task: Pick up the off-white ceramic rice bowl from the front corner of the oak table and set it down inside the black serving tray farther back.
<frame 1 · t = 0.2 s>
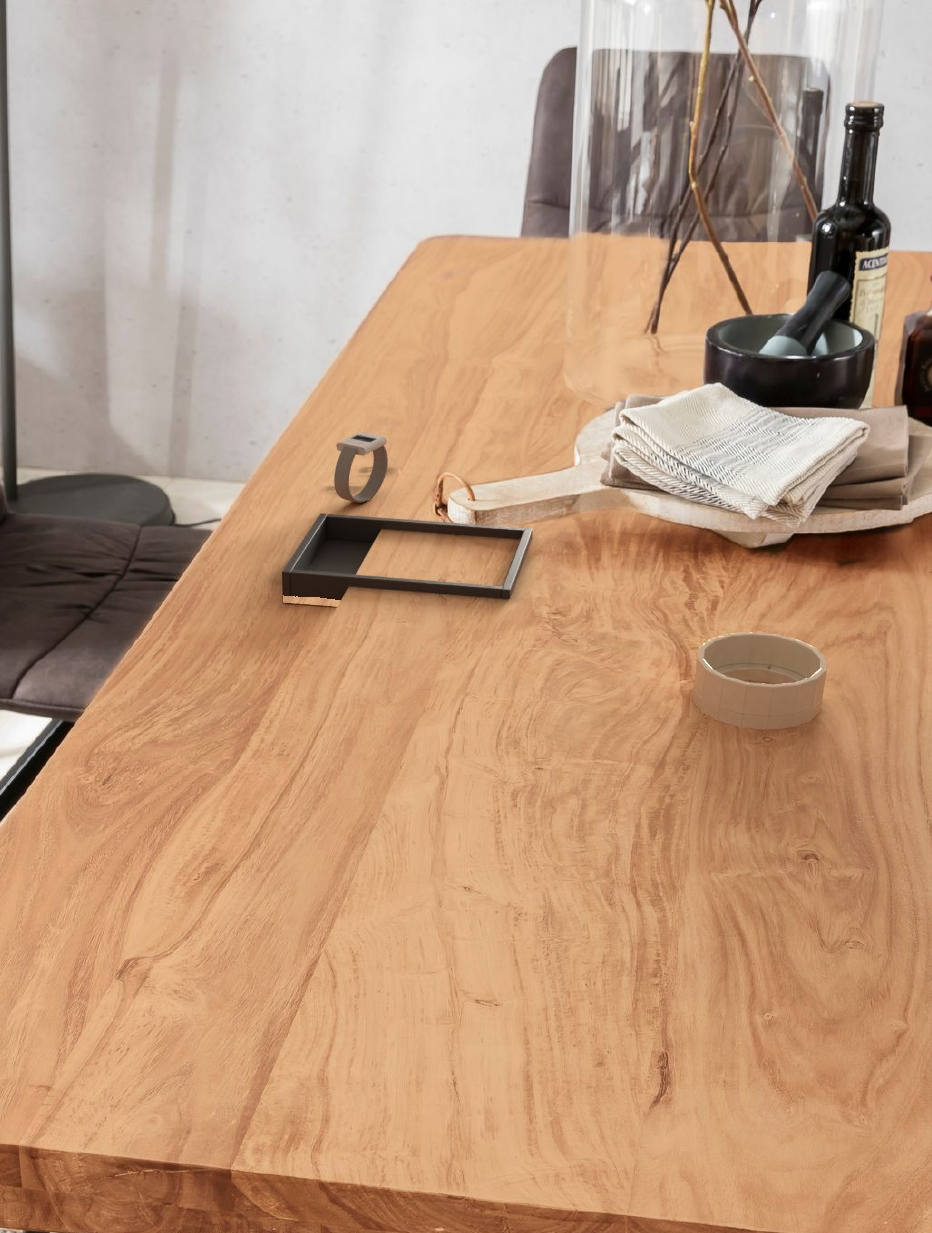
wristwatch: (361, 502, 140), on the table
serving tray: (410, 580, 126), on the table
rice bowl: (752, 725, 106), on the table
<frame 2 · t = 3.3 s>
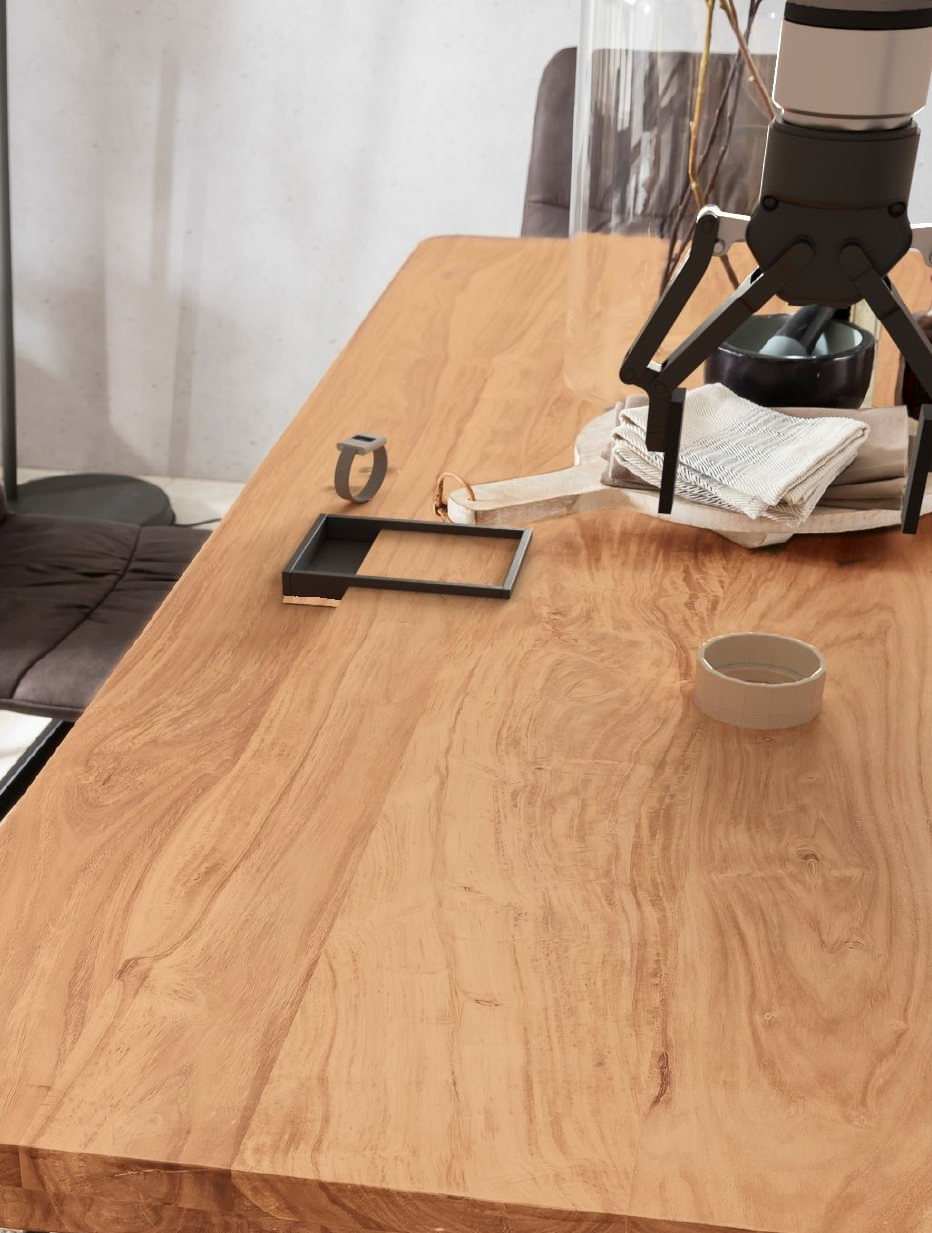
hand: (785, 516, 99), 13 cm above the table, tool pointing down, fingers open, 13 cm apart
nothing on the table moved.
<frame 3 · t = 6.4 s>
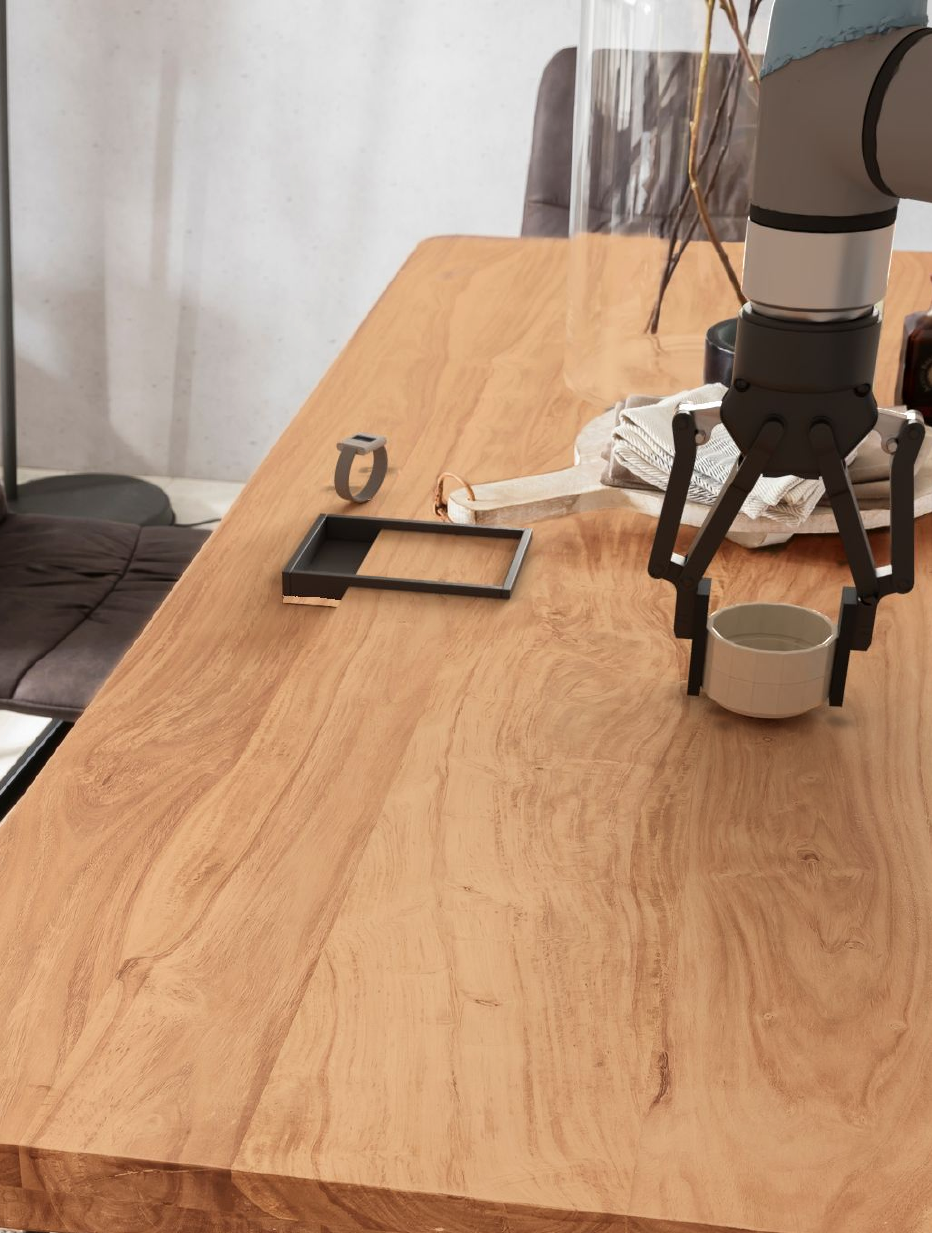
hand: (764, 691, 104), 3 cm above the table, tool pointing down, fingers closed on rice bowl, 8 cm apart
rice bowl: (763, 695, 105), point 2 cm above the table, touching gripper
everything else where it was.
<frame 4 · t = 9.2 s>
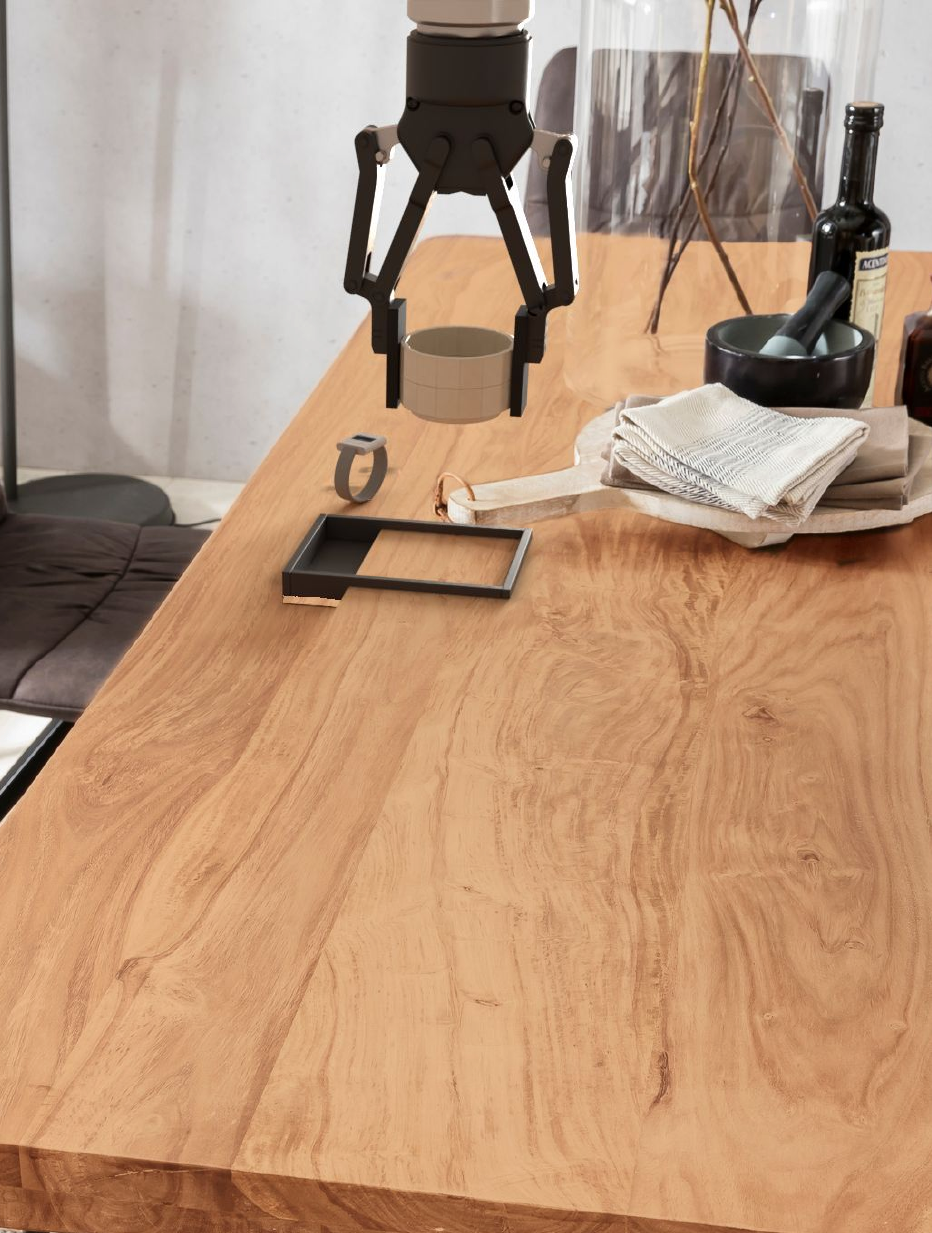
hand: (456, 406, 115), 14 cm above the table, tool pointing down, fingers closed on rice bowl, 8 cm apart
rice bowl: (456, 409, 116), point 14 cm above the table, touching gripper
everything else where it was.
when the fingers open (1 cm above the table, at t = 12.1 s): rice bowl stays where it is, resting on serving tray.
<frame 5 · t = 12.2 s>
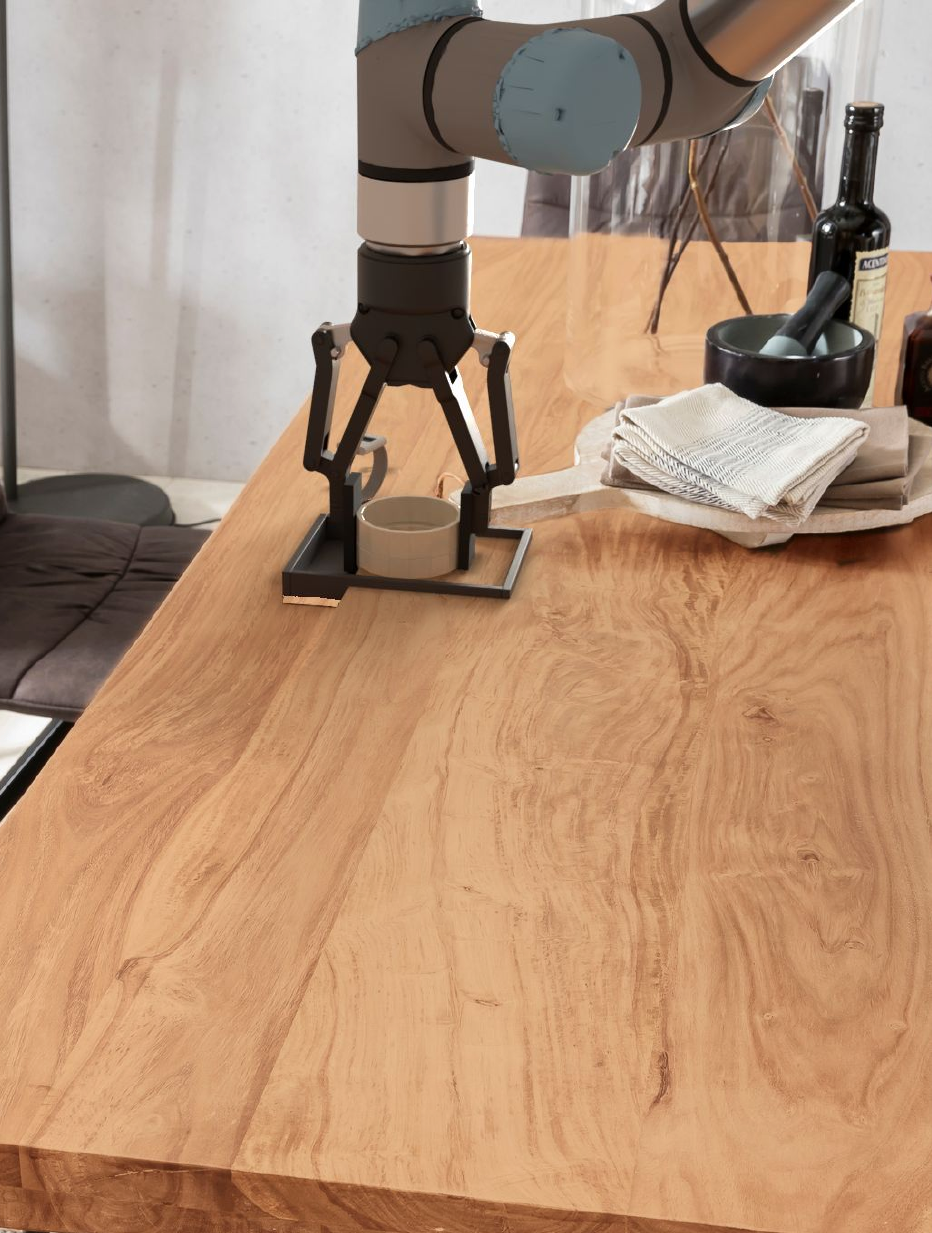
hand: (409, 569, 125), 1 cm above the table, tool pointing down, fingers open, 8 cm apart
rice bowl: (409, 572, 125), point 1 cm above the table, touching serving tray
everything else where it was.
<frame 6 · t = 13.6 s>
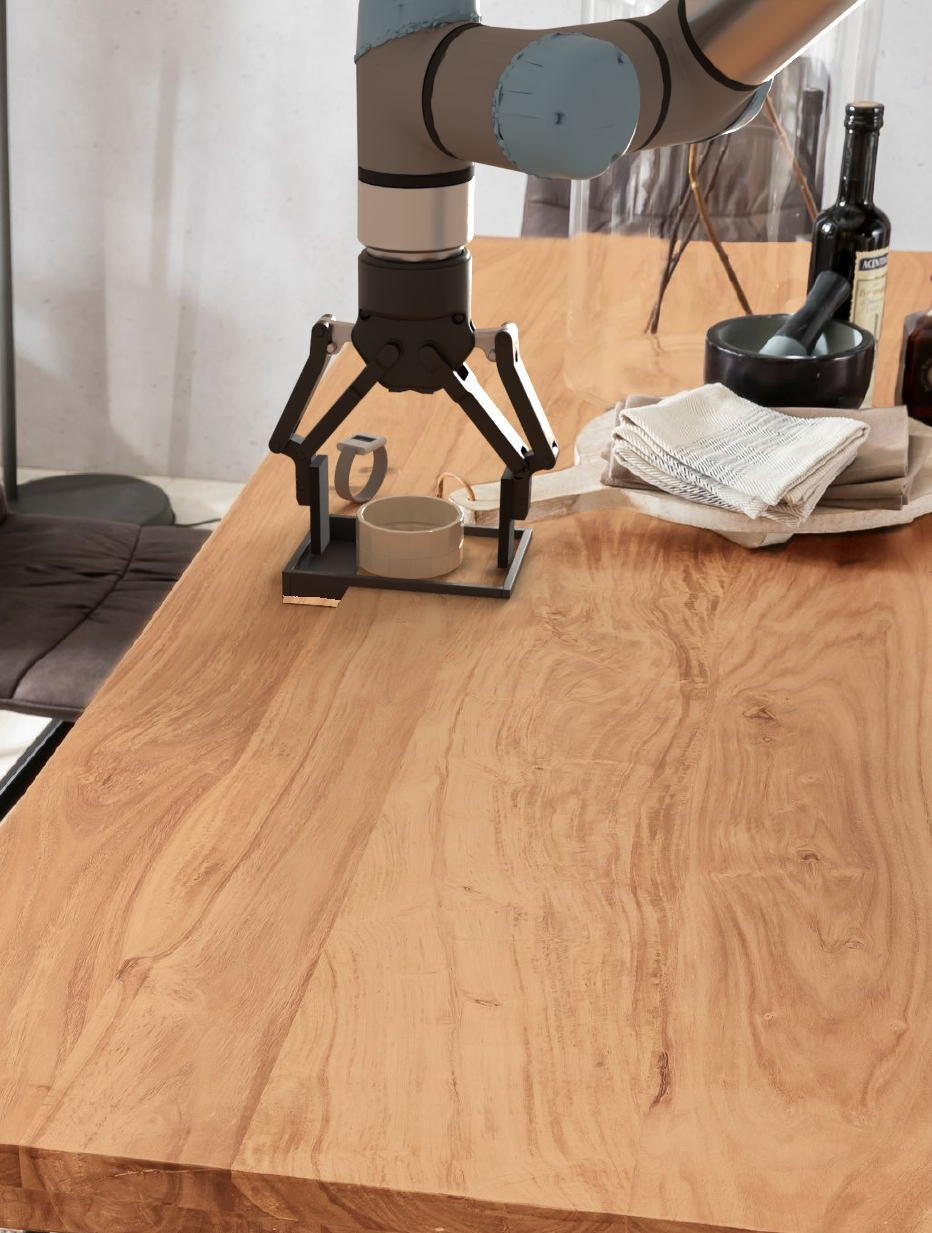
hand: (411, 555, 125), 2 cm above the table, tool pointing down, fingers open, 13 cm apart
nothing on the table moved.
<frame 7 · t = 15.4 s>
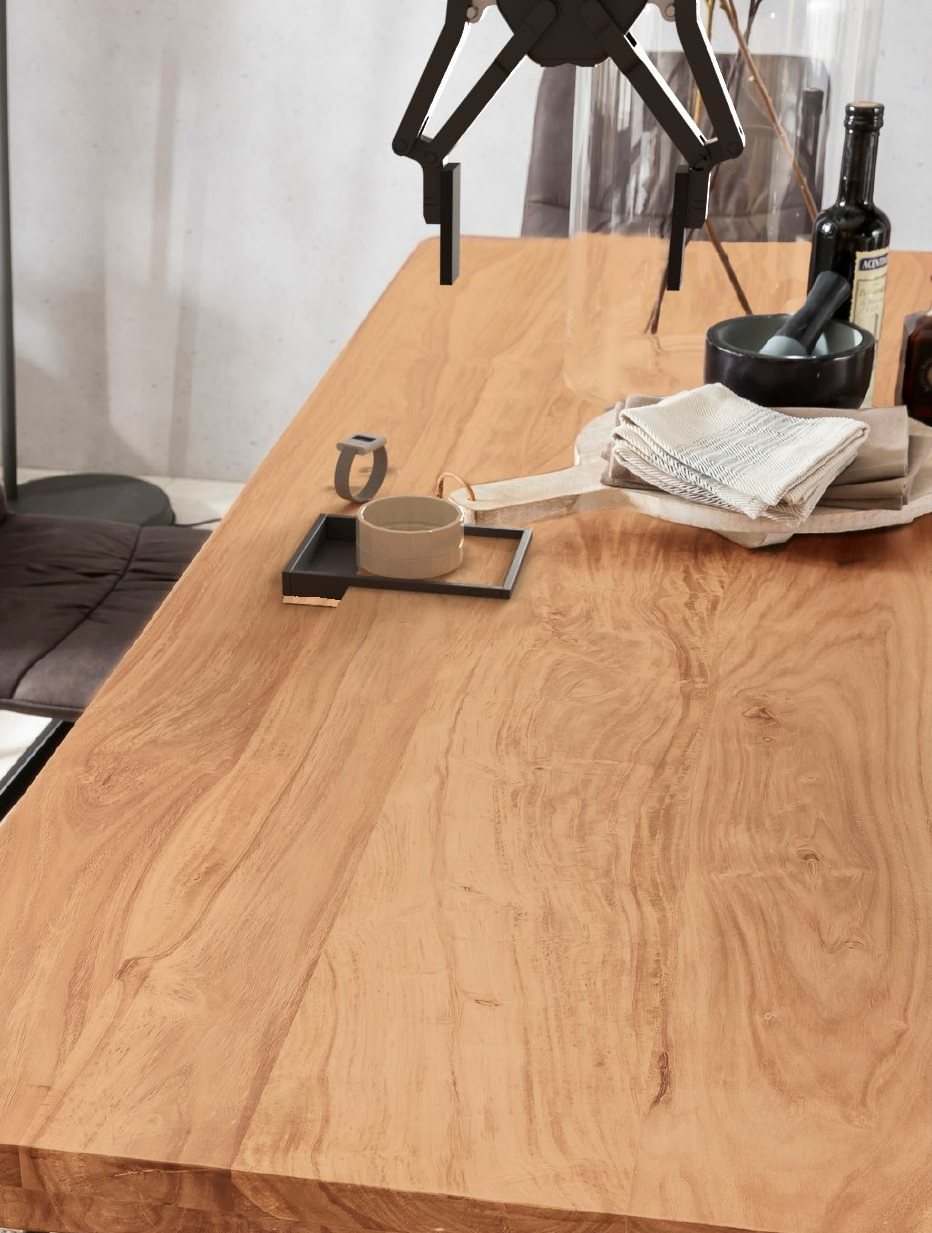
hand: (560, 284, 104), 23 cm above the table, tool pointing down, fingers open, 13 cm apart
nothing on the table moved.
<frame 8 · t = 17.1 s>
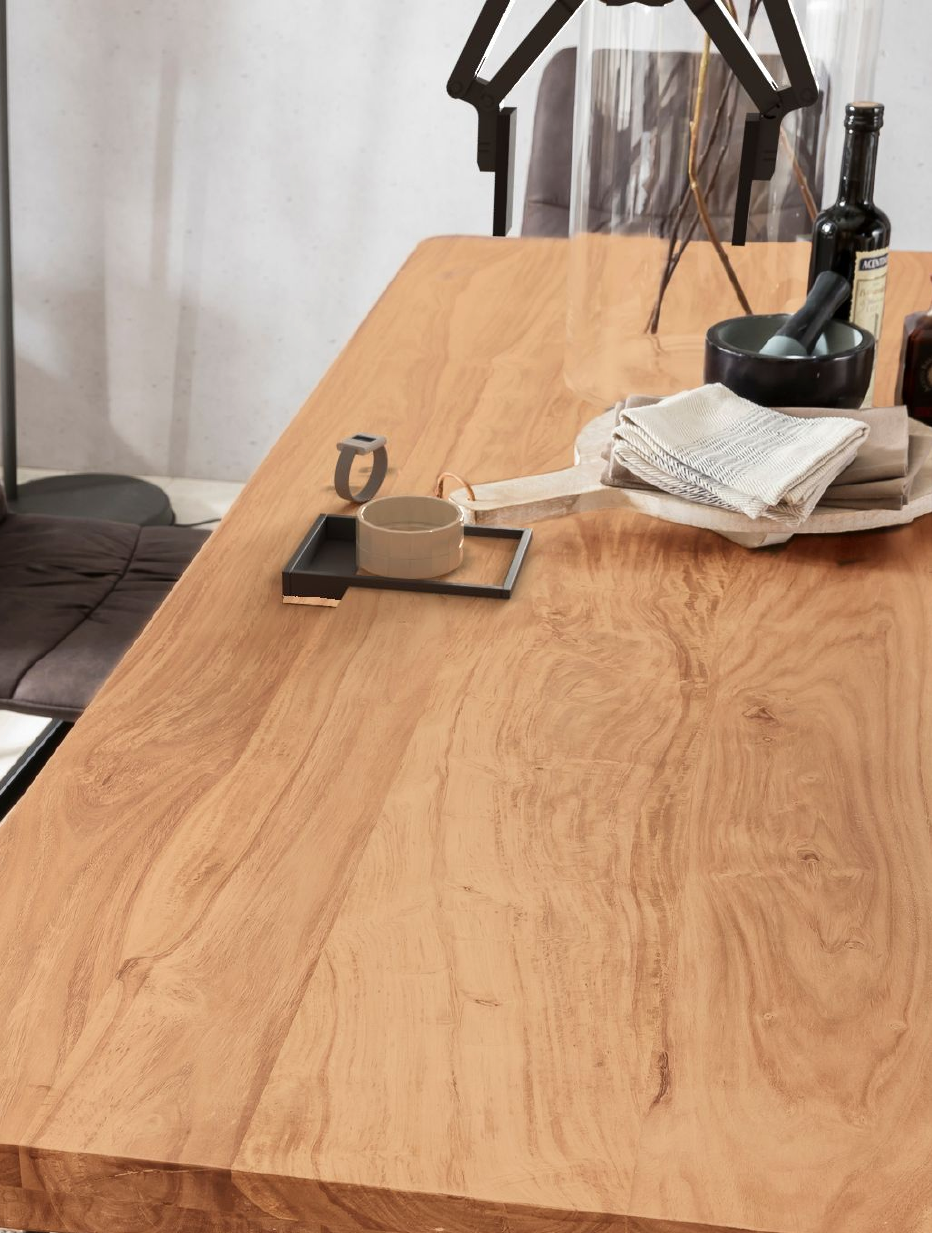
hand: (618, 237, 100), 27 cm above the table, tool pointing down, fingers open, 13 cm apart
nothing on the table moved.
at the end: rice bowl 0.1 cm off-centre in the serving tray, point 0.6 cm above the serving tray's base; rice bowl tilted 0°; the gripper is holding nothing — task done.
